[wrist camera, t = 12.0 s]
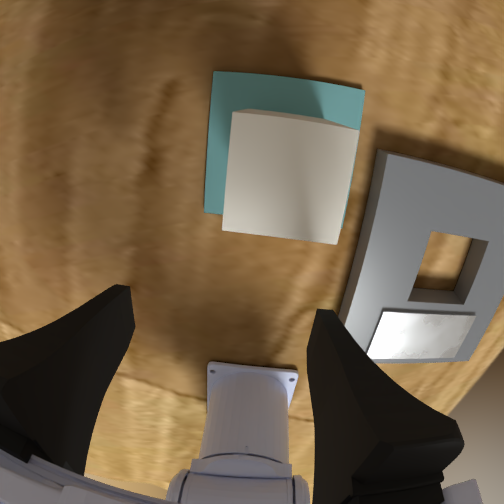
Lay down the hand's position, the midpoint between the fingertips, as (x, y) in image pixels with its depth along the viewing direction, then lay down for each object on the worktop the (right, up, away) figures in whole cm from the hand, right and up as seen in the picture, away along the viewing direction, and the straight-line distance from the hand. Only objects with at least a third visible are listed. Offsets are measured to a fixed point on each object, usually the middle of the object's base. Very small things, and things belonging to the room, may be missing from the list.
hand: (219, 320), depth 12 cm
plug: (+3, +9, +7) cm, 11 cm away
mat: (+3, +9, +7) cm, 12 cm away
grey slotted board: (+15, +1, +10) cm, 18 cm away
